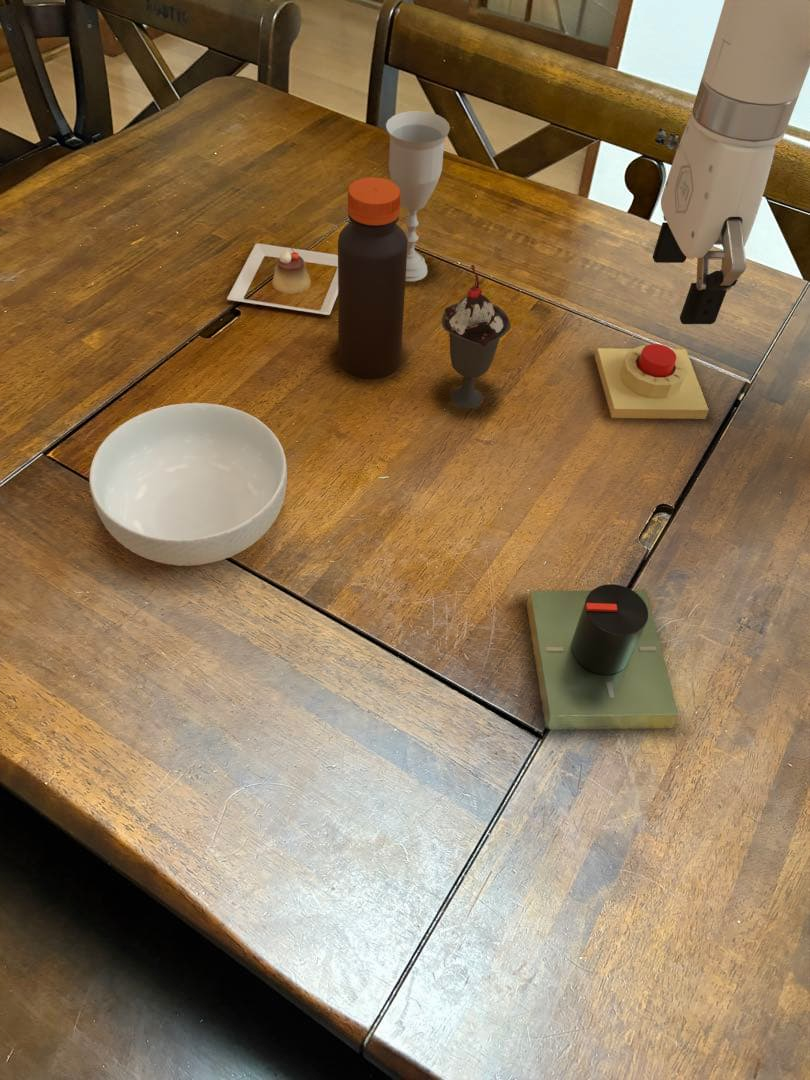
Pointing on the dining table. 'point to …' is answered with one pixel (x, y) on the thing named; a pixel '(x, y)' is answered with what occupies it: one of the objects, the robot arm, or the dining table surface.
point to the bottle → (371, 280)
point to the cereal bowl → (189, 483)
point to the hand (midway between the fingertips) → (681, 290)
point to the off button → (657, 360)
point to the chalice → (416, 170)
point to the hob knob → (609, 629)
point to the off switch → (649, 387)
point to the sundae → (473, 340)
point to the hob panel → (591, 696)
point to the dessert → (286, 275)
